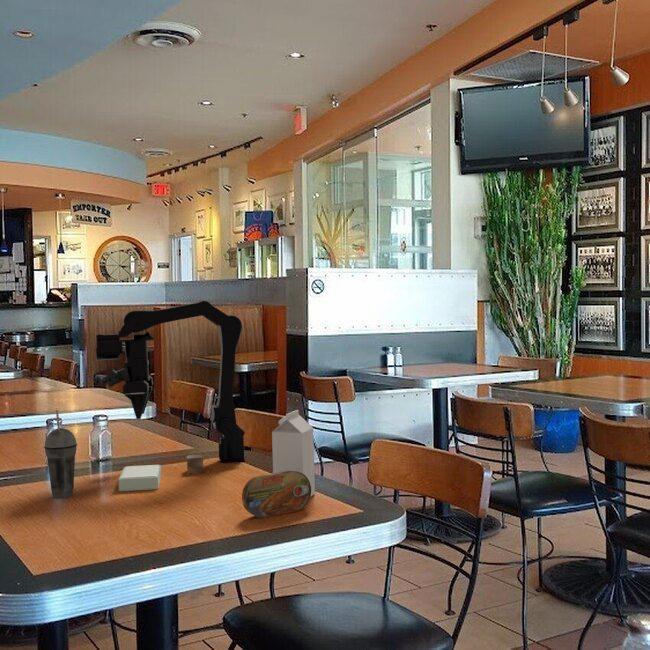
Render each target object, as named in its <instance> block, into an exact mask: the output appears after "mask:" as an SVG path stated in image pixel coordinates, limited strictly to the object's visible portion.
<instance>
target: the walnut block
mask: <svg viewBox="0 0 650 650" xmlns="http://www.w3.org/2000/svg"><path fill="white" fill-rule="evenodd" d="M203 455H204V454H191V455H187V456H186V470H187V474H188V475H190V474H189V473H192V474H203V473H204V459H203V458H204V456H203Z"/></svg>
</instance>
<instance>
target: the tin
mask: <svg viewBox="0 0 650 650" xmlns="http://www.w3.org/2000/svg"><path fill="white" fill-rule="evenodd" d="M241 493H242V494H241V502H242V505H243V507H244V510H245V511H247V512H248V513H249V514H250V515H252V516H254V517H256V518H259V519H266V518H270V517H276V516H280V515H286V514H292V513H296V512H299V511H301V510H303V509H304V508H305V507H307V504H308V503H309V501H310V499H311V497H312V496H311V484H310V481H309V479H308V478H307V477H306V476H305V475H304V474H303V473H301V472H298V471H285V472H279V473H273V472H272V473H269V474H267V473H266V474H263V475H256V476H253V477H251V478H250V479H249V480H248V481H247V482H246V483H245V485H244V486H243V489H242V492H241ZM310 496H311V497H310Z"/></svg>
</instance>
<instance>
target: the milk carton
mask: <svg viewBox="0 0 650 650" xmlns="http://www.w3.org/2000/svg"><path fill="white" fill-rule="evenodd" d="M277 423H278V424H279V425H278V426H277V427H276V428H275V429H274V430H272V432H271V440H272V441H271V443H272V444H271V445H272V447H271V448H272V474H273V473H279V472H285V471H298V472H301V473H303V474H304V475H305V476H306V477H307V478H308V479H309V481H310V484H311V496H310V498H311V497H313V496H314V495H315V493H316V488H315V487H316V485H315V484H316V483H315V481H316V480H315V478H316V477H315V476H316V475H315V451H314V450H315V446H314V445H315V443H314V427H313V426H312V425H311V424H310V423H309V422H308V421H306V420H305V419H304V418H303V417H302V416H301V415H300V414H299V409H296V410H294V411H291V412H289V413H286V414H285V416H283V417H281V419H279V420H278V422H277Z"/></svg>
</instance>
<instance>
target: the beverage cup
mask: <svg viewBox="0 0 650 650" xmlns="http://www.w3.org/2000/svg"><path fill="white" fill-rule="evenodd" d="M55 413H56V415H55V417H56V424H57V425H56V426H57V428H55V429H53V430H51V431H50V432H49V433H48V434H47V436H46V438H45V441H44V446H43V448H44V453H45V456H46V461H47V468H48V469H47V470H48V474H49V476H48V477H49V483H50V491H51V496H52V499H66V498H71V497H73V496H74V494H73V493H74V487H75V486H74V485H75V469H76V468H75V467H76V466H75V465H76V464H75V463H76V454H77V447H78V443H77V440H76V436H75V435H74V434H73V432H72V431H71V430H69V429H67V428H63V427H61V428H60V426H61V425H60V418H59V417H60V416H59V409H56V410H55Z"/></svg>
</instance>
